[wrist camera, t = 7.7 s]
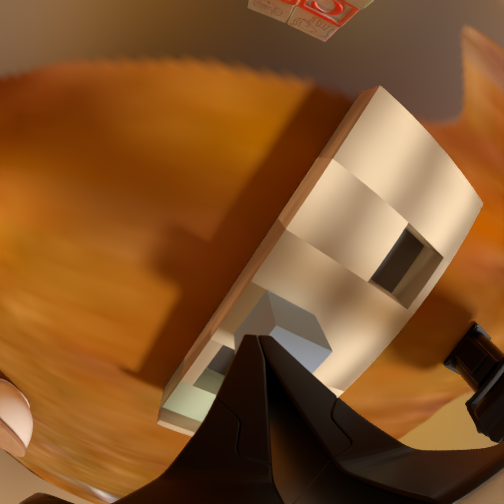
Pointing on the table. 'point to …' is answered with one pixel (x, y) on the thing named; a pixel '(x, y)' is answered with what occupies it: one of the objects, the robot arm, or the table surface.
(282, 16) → the stack of blocks
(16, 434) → the lidded jar
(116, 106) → the table surface
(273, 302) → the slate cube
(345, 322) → the board
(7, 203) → the table surface
